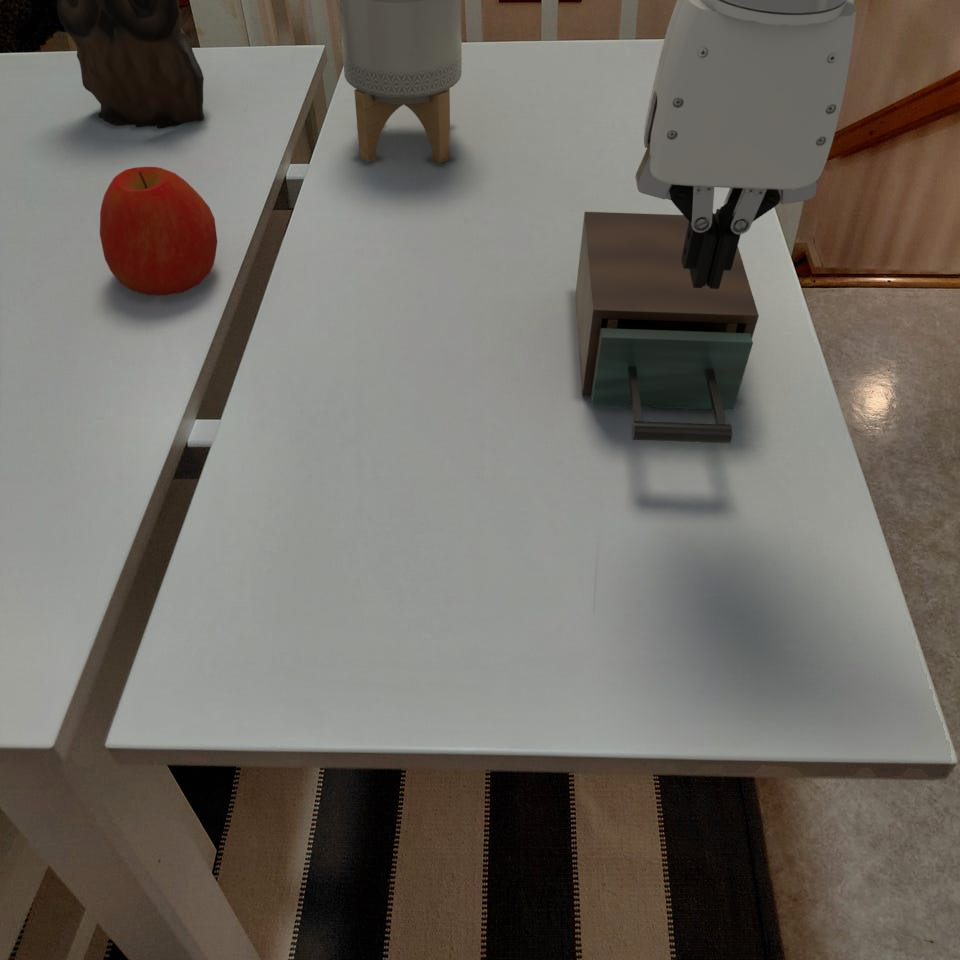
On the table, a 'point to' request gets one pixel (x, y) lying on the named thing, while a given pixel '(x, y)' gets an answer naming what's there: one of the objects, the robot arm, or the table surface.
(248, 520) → the table surface
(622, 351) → the drawer
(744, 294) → the cabinet
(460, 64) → the planter
